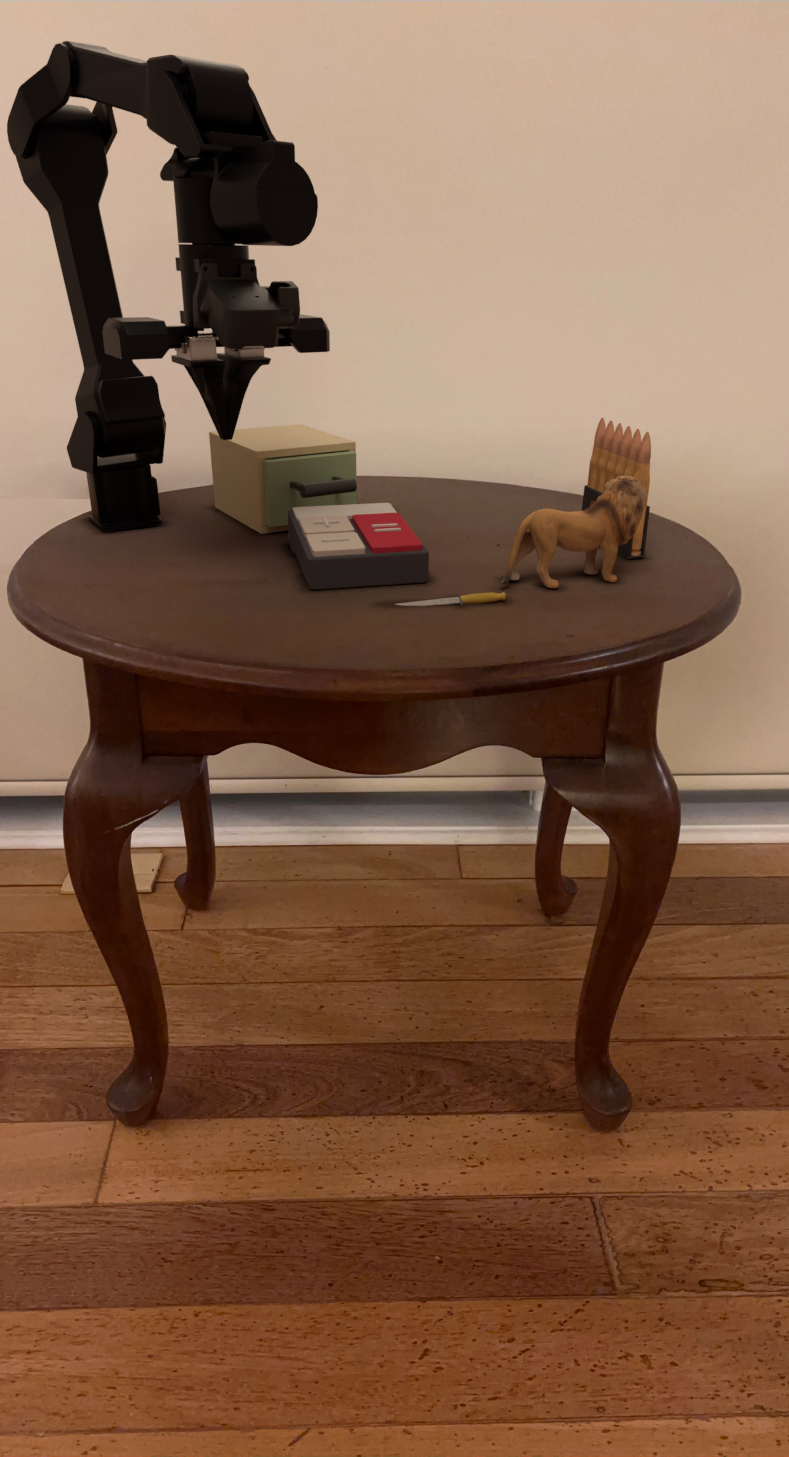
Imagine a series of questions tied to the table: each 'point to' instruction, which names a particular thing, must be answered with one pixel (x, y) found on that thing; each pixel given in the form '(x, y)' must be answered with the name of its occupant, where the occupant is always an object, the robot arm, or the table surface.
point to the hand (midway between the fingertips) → (226, 439)
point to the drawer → (308, 483)
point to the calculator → (356, 546)
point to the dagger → (460, 600)
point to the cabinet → (260, 466)
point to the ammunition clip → (620, 474)
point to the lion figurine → (581, 531)
